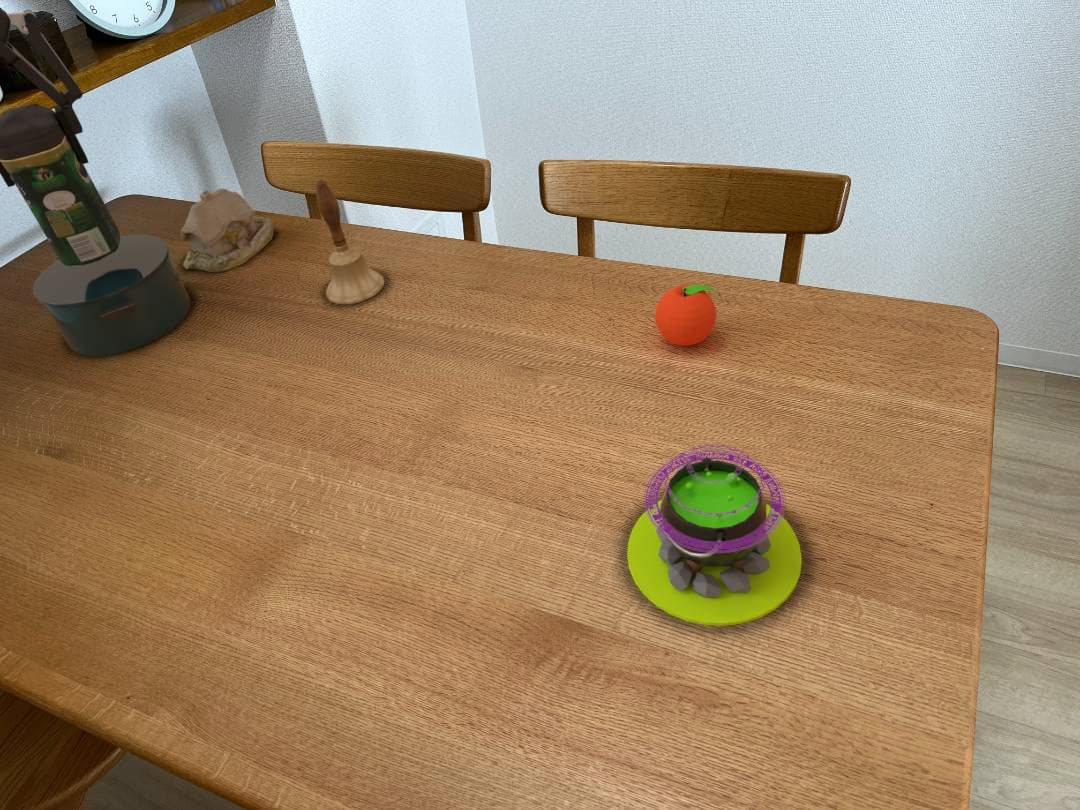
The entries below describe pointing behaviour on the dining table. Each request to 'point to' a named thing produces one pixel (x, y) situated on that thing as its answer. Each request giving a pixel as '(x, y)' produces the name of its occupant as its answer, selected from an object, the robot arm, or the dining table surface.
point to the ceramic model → (223, 232)
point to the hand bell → (345, 257)
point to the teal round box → (115, 297)
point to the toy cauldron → (714, 542)
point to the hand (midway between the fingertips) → (48, 171)
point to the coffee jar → (56, 185)
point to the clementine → (686, 314)
